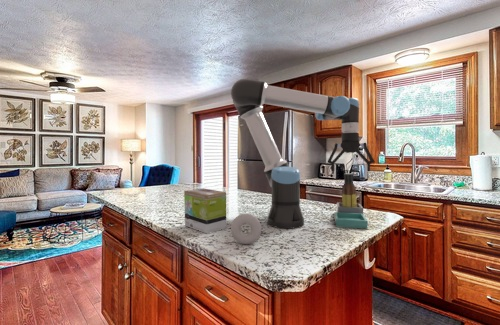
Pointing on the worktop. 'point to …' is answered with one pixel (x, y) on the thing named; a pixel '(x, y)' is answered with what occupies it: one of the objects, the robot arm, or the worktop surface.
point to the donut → (242, 236)
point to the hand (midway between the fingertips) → (350, 178)
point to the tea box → (205, 209)
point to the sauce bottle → (348, 191)
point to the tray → (350, 220)
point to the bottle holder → (350, 209)
